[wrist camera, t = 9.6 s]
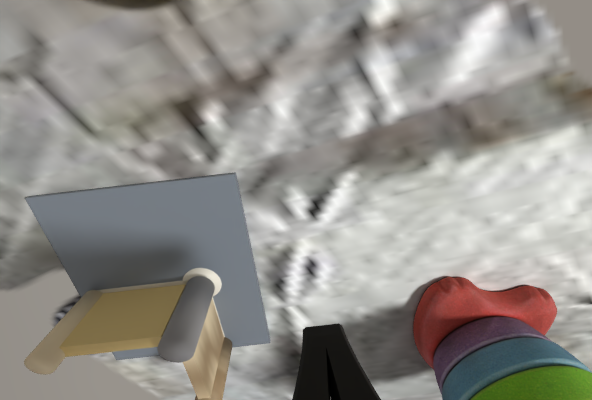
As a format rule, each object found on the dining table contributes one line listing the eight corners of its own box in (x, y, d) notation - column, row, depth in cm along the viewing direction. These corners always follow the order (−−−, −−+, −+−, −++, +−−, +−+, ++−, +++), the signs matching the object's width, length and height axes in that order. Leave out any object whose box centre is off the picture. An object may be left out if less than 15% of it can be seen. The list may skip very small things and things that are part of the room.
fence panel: (211, 274, 19) (189, 336, 15) (217, 296, 20) (198, 360, 16) (79, 289, 19) (16, 354, 15) (90, 310, 20) (34, 378, 16)
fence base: (234, 350, 23) (221, 424, 18) (213, 352, 23) (194, 427, 18) (218, 295, 21) (198, 364, 16) (194, 298, 21) (167, 367, 16)
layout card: (270, 339, 23) (270, 343, 23) (118, 356, 23) (116, 360, 23) (235, 172, 17) (234, 174, 17) (28, 196, 17) (24, 198, 17)
